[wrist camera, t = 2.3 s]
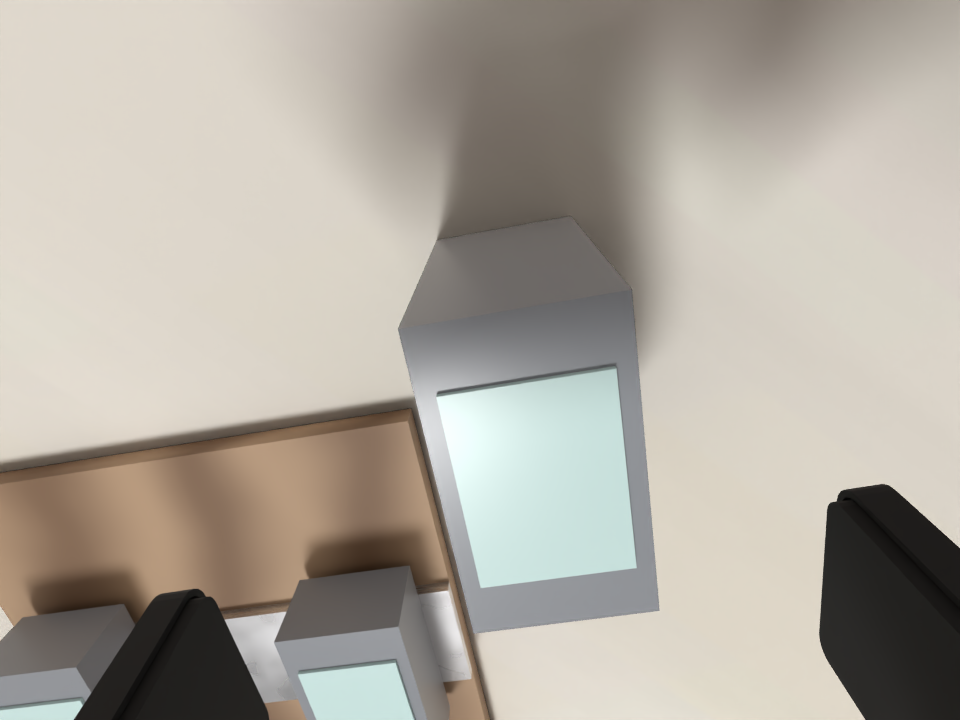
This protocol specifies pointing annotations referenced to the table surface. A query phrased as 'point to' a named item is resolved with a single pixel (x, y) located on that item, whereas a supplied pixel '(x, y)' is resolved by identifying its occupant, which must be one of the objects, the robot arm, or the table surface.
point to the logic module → (534, 424)
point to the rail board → (244, 570)
